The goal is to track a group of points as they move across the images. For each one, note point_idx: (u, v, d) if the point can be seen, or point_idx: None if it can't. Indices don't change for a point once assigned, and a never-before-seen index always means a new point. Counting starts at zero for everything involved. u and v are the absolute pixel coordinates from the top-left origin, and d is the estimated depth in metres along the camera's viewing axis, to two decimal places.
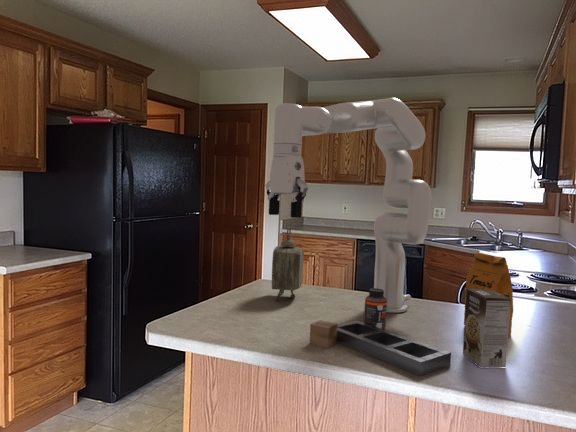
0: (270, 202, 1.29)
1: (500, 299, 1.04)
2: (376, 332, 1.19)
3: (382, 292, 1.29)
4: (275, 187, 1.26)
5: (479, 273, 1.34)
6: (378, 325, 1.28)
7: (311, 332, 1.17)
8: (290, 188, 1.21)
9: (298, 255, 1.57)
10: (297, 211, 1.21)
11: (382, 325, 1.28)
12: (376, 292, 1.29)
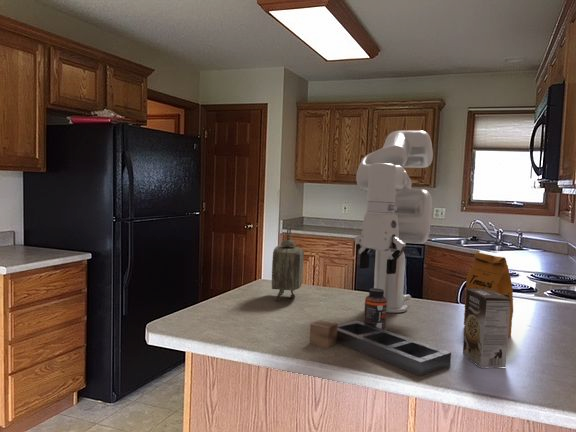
0: (361, 256, 1.32)
1: (500, 299, 1.04)
2: (376, 332, 1.19)
3: (382, 292, 1.29)
4: (368, 243, 1.29)
5: (479, 273, 1.34)
6: (378, 325, 1.28)
7: (311, 332, 1.17)
8: (386, 246, 1.25)
9: (298, 255, 1.57)
10: (393, 268, 1.25)
11: (382, 325, 1.28)
12: (376, 292, 1.29)
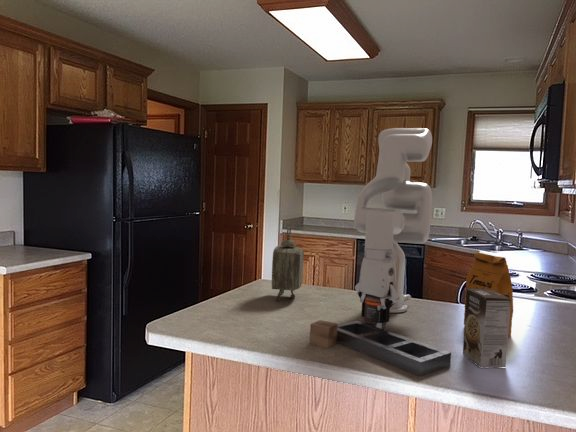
0: (363, 305, 1.32)
1: (500, 299, 1.04)
2: (376, 332, 1.19)
3: None
4: (366, 289, 1.30)
5: (479, 273, 1.34)
6: (378, 325, 1.28)
7: (311, 332, 1.17)
8: (384, 293, 1.26)
9: (298, 255, 1.57)
10: (386, 317, 1.27)
11: (382, 325, 1.28)
12: None
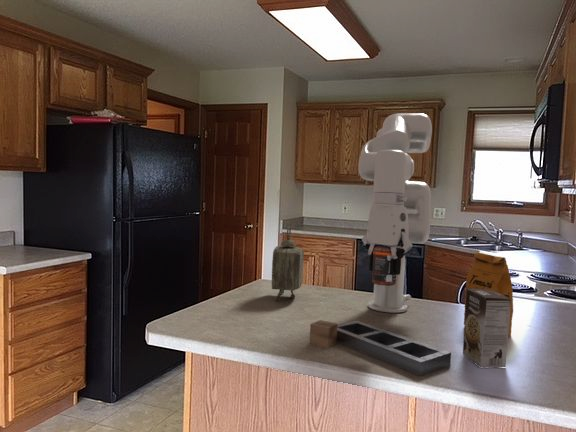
0: (371, 257, 1.19)
1: (500, 299, 1.04)
2: (376, 332, 1.19)
3: None
4: (375, 238, 1.17)
5: (479, 273, 1.34)
6: (388, 277, 1.15)
7: (311, 332, 1.17)
8: (395, 241, 1.13)
9: (298, 255, 1.57)
10: (397, 268, 1.14)
11: (392, 277, 1.15)
12: None
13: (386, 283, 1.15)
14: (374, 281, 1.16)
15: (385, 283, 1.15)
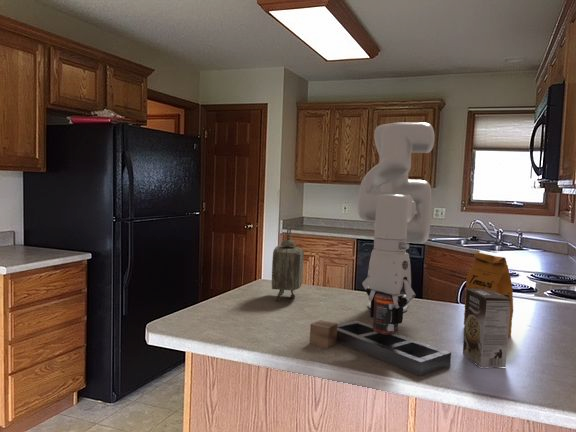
0: (372, 304, 1.15)
1: (500, 299, 1.04)
2: None
3: None
4: (376, 285, 1.13)
5: (479, 273, 1.34)
6: (389, 327, 1.11)
7: (311, 332, 1.17)
8: (397, 290, 1.08)
9: (298, 255, 1.57)
10: (399, 318, 1.10)
11: (394, 326, 1.11)
12: None
13: (388, 332, 1.11)
14: (375, 330, 1.12)
15: (387, 332, 1.11)
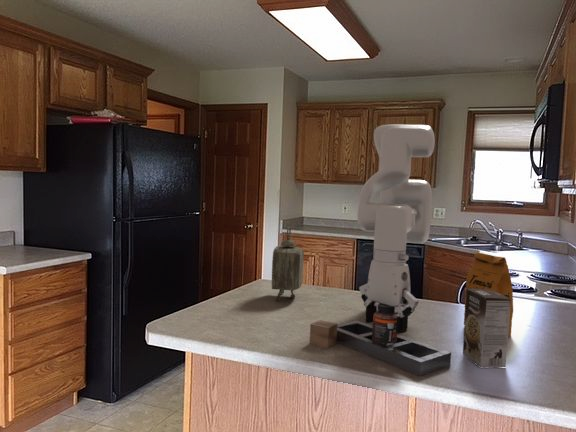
0: (367, 310, 1.16)
1: (500, 299, 1.04)
2: None
3: (393, 308, 1.12)
4: (375, 296, 1.13)
5: (479, 273, 1.34)
6: None
7: (311, 332, 1.17)
8: (396, 301, 1.08)
9: (298, 255, 1.57)
10: (404, 327, 1.09)
11: None
12: (386, 308, 1.12)
13: None
14: None
15: None
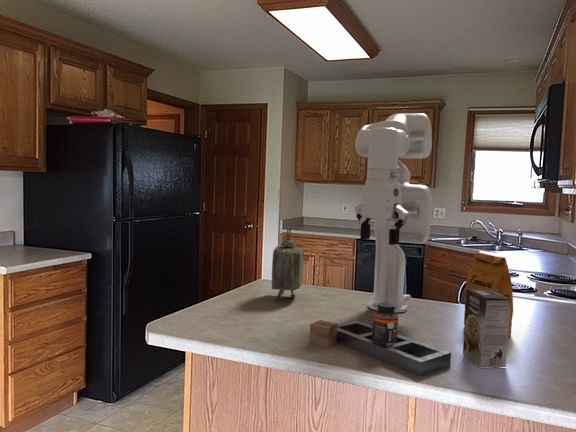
0: (362, 227, 1.26)
1: (500, 299, 1.04)
2: None
3: (393, 308, 1.12)
4: (369, 212, 1.23)
5: (479, 273, 1.34)
6: None
7: (311, 332, 1.17)
8: (389, 215, 1.18)
9: (298, 255, 1.57)
10: (396, 238, 1.19)
11: None
12: (386, 308, 1.12)
13: None
14: None
15: None
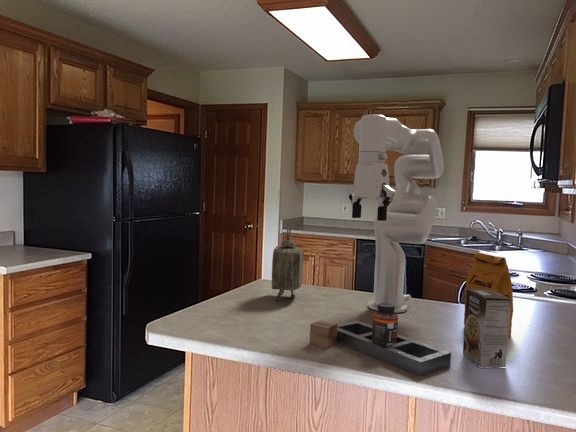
0: (353, 206, 1.38)
1: (500, 299, 1.04)
2: None
3: (393, 308, 1.12)
4: (360, 192, 1.35)
5: (479, 273, 1.34)
6: None
7: (311, 332, 1.17)
8: (377, 193, 1.30)
9: (298, 255, 1.57)
10: (383, 215, 1.30)
11: None
12: (386, 308, 1.12)
13: None
14: None
15: None
